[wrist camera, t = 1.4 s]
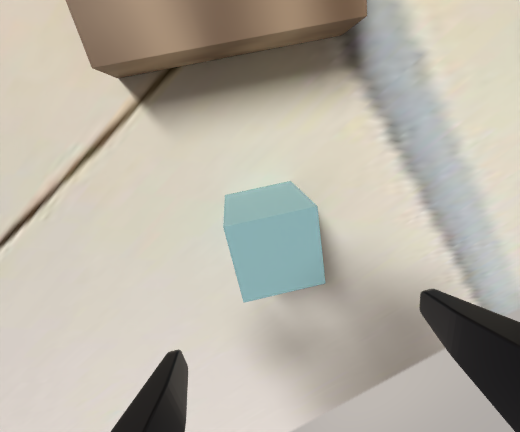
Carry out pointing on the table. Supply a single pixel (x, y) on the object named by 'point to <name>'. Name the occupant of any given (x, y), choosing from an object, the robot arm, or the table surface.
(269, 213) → the teal block
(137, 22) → the plinth
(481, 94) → the table surface
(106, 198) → the table surface
